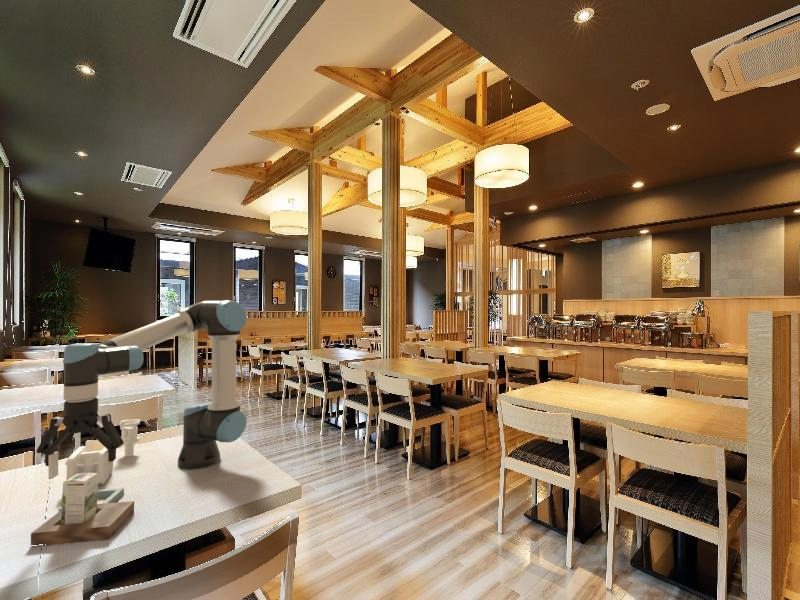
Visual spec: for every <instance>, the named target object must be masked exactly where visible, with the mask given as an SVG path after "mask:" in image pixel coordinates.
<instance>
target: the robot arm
mask: <svg viewBox="0 0 800 600" xmlns="http://www.w3.org/2000/svg"><path fill="white" fill-rule="evenodd" d="M247 318H248V317H247V312H246V308H245V307H244V306H242V304H240V302H238V301H235V300H229V299H224V300H220V299H219V300H203V301H201V302H197V303H194V304H191V305H189V306H187V307H184V308H182V309H179V310H177V311H176V312H175V314H173V315H171V316H167V317H165V318H163V319H159V320H157V321H154V322H153V323H149V324H147V325H144V326H141V327H139V328H136V329H134V330H131V331H128V332H126V333H124V334H120V335H118V336H115V337H112V338H110V339H108V340H104V341H102V342H99V343H95V342H84V343H72V344H68V345H66V346H65V348H64V351H63V360H62V363H63V400H64V402H63V415H64V417H61V416H60V415H59V416H55V417H53V418H51V419H50V422H49V428H48V429H47V431H46V433H45V435H44V436H43V438H42V440H41V442H40V443H39V445H38V447H37V448H36V451H35V452H36V453H37V454H44V462H45V464H44V465H45V467H48V480H53V479H54V478H56V477H57V476H59V451H57V449H58V448H59V447H60V445H61V444H62V443H63V442H64V441H65V440H66V439H67V438H68V437H69V435H71V433H72V434H73V435H74V434H78V433H79V434H86V433H89V435H92V436H93V437H94V438H95V439H96V440H97V441H98V442H99V443H100V444H101V445H102V446H103V448H104V447H105V448H106V449H107V450H106V451H105V452H104V475H108V474H109V473H110V472H111V471H112V472H113V471H114V462H115V460H116V459H117V449H119V448H120V447H121V446H123V444H124V442H123V440H122V436H121V435H120V433H119V431H118V429H117V428H116V426H115V424H114V423H113V421H112V414H110V413H106V414H104V415H99V414H98V411H99V398H98V395H99V376H103V375H104V376H105V375H110V374H116V373H122V372H123V373H124V372H130V371H134V370H135V371H136V370H138V369H140V368H141V367H142V366H143V364H144V352H143V351H144V350H146V349H149V348H151V347H154V346H156V345H159V344H160V343H162V342H165V341H168V340H170V339H173V338H175V337H178V336H179V335H181V334H191V333H193V332H197V331H205V330H207V333H206V335H207V337H208V338H209V339H210V340H211V401H206V402H200V403H199V402H198V403H195V404H194V403H193V404H191V405H187V406H186V407H185V408H184V409H183V416H182V418H183V426H182V427H183V433H182V435H183V437H182V440H183V442H182V443H183V444H182V447H181V450H180V452H179V455H178V458H177V467H178V466H179V467H178V468H180V469H183V470H184V469H185V470H195V469H203V468H207V467H209V465H210V466H212V465H211V464H213V465H214V463H215V462H217V461H218V460H219V459H220V460H221V452H220V449H219V447H218V443H217V442H219V443H233V442H235V441H237V440H238V439H240V437H241V436H242V434H243V433H244V432H245V430H246V427H247V423H248V419H247V416H246V415H245V413H244V412H242V411H241V403H240V402H239V401H238V400H237V338H238V337H240V336H241V330H242V329H243V328H245V325H246V324H247ZM98 422H99V423H100V424H102V428H103V429H104V430H102V428H101V425H99V424H98ZM62 424H63V425H64V426H65V428H64V429H63V430H62V431H61V433H60V434H59V435H58V437H56V438H55V439H54V437H55V436H56V433H57V432H58V430H59V429H60V426H61V425H62ZM53 440H54V441H53ZM52 441H53V442H52ZM220 460H219V461H220ZM219 461H218V462H219ZM218 462H217V463H218ZM215 464H216V463H215Z"/></svg>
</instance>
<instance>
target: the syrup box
mask: <svg viewBox="0 0 800 600" xmlns="http://www.w3.org/2000/svg"><path fill="white" fill-rule="evenodd" d="M98 485H99V484H98V473H79V474H76V475H75V476H73V477H71V478H70V479H68V480H67V479H66V480H65V481H63V482H62V497H61V498H62V499H61V501H62V502H61V507H62V519H61V525H67V524H79V523H87V522H88V521H89V520H90V519H91V518H92V517H93V516H94V515H96V514H97V504H98V498H97V492H98V490H99V489H98V488H99V486H98Z"/></svg>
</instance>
